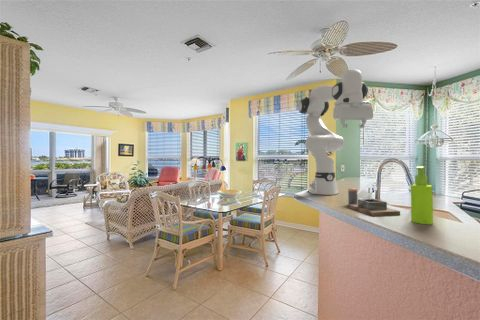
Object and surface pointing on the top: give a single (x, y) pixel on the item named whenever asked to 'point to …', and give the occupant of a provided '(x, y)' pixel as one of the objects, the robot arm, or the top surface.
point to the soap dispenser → (421, 199)
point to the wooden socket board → (373, 207)
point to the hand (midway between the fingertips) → (353, 128)
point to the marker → (352, 196)
